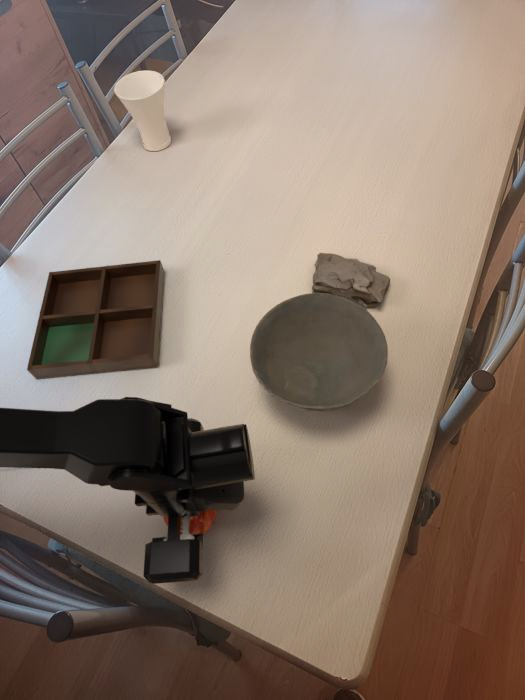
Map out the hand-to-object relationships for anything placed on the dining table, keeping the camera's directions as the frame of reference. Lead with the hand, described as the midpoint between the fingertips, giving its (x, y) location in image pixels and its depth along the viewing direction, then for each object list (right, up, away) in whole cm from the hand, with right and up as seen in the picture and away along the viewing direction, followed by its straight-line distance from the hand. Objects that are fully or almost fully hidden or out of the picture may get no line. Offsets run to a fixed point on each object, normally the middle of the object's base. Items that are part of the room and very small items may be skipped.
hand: (191, 513), depth 66 cm
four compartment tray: (-18, +27, +21) cm, 38 cm away
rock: (+24, +33, +20) cm, 45 cm away
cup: (-14, +69, +47) cm, 84 cm away
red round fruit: (0, -1, +1) cm, 2 cm away
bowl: (+18, +17, +11) cm, 27 cm away
